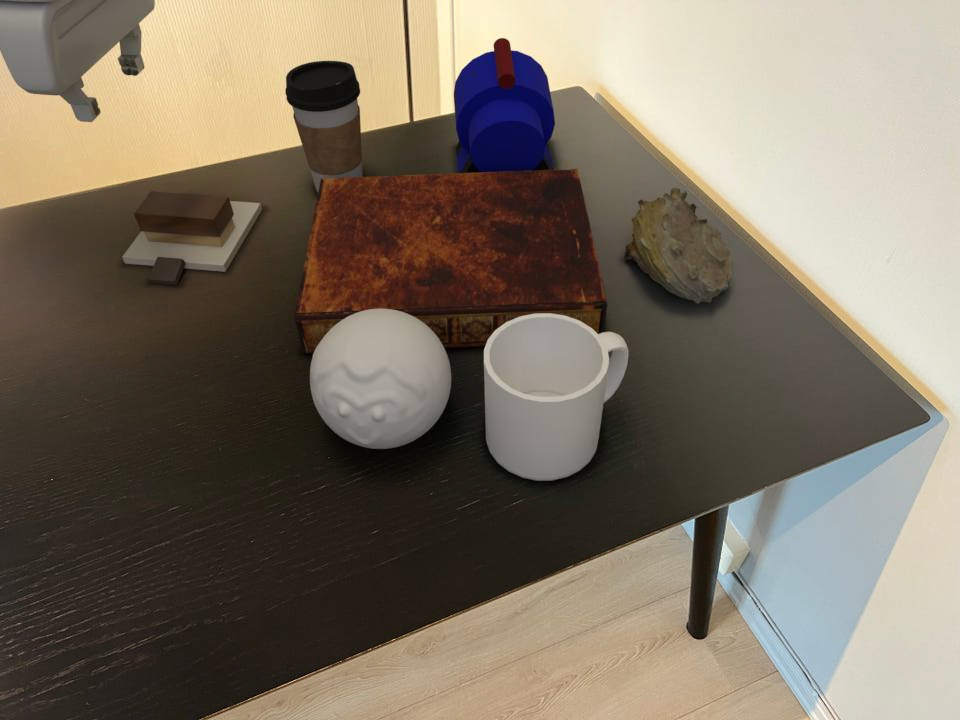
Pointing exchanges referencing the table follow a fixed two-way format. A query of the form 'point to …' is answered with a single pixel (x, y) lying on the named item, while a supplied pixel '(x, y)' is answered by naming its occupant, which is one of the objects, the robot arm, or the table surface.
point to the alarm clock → (503, 113)
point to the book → (451, 253)
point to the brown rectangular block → (185, 218)
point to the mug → (548, 393)
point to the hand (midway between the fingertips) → (113, 94)
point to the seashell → (679, 248)
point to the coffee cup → (327, 117)
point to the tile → (198, 254)
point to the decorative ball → (380, 378)
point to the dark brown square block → (167, 271)
